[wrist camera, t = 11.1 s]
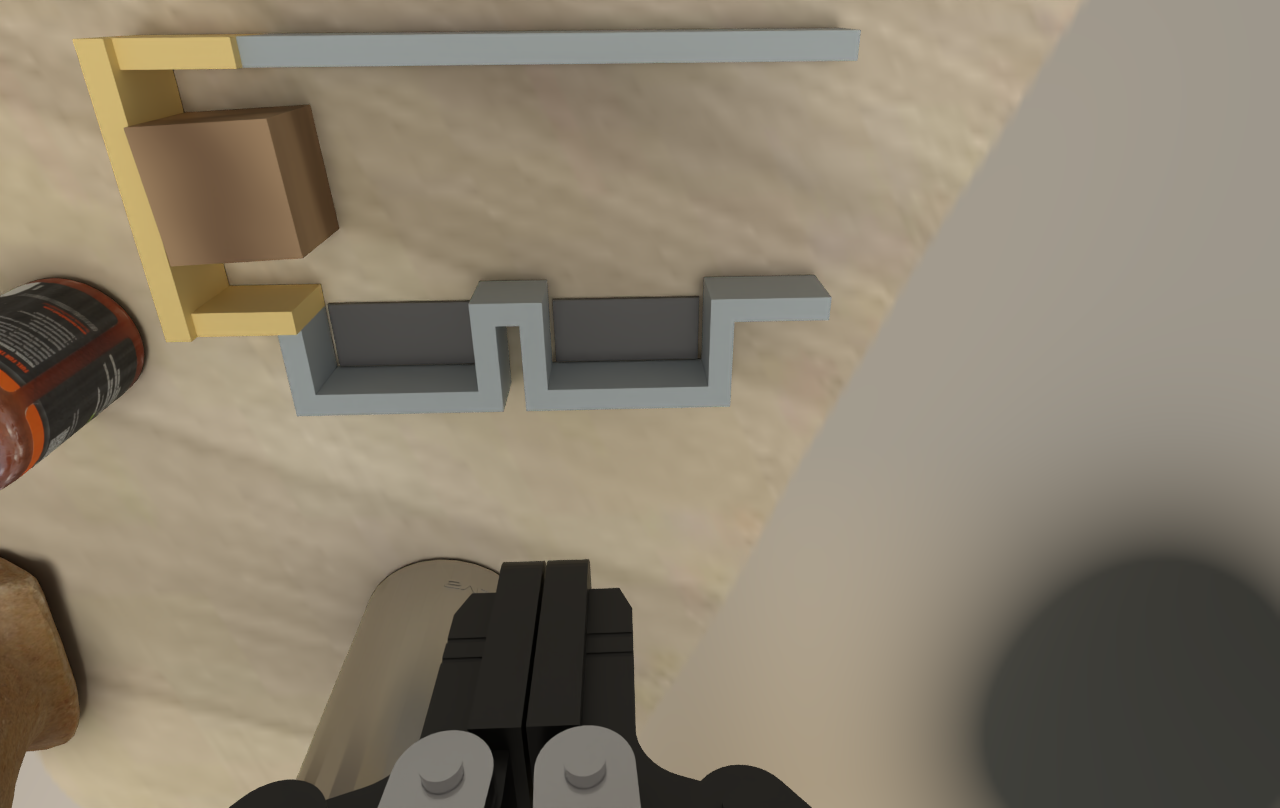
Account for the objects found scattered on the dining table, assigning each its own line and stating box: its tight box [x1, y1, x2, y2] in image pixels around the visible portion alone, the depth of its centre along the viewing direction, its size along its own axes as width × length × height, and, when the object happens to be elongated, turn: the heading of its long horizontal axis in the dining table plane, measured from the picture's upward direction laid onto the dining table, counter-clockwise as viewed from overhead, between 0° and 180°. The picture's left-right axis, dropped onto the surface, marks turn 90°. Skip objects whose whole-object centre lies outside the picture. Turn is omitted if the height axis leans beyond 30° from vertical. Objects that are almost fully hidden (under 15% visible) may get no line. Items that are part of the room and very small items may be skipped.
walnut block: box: [124, 105, 339, 266], centre depth 30 cm, size 5×5×4 cm
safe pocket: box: [72, 34, 325, 342], centre depth 30 cm, size 5×11×4 cm, turn 0°
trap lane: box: [236, 28, 861, 416], centre depth 32 cm, size 23×15×3 cm, turn 90°
